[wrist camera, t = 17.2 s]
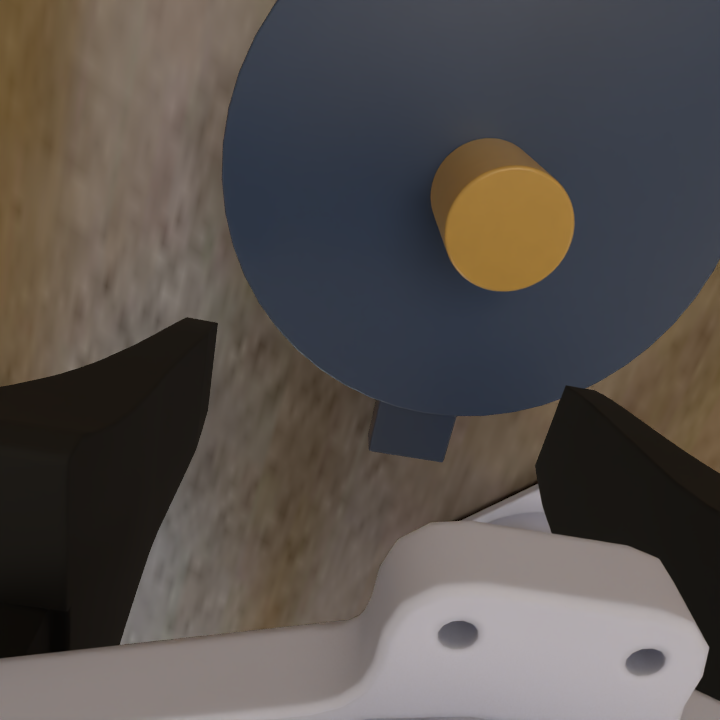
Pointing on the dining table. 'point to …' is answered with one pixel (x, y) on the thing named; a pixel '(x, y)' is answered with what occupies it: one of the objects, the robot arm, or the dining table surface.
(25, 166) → the dining table surface
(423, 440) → the pot
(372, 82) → the lid
